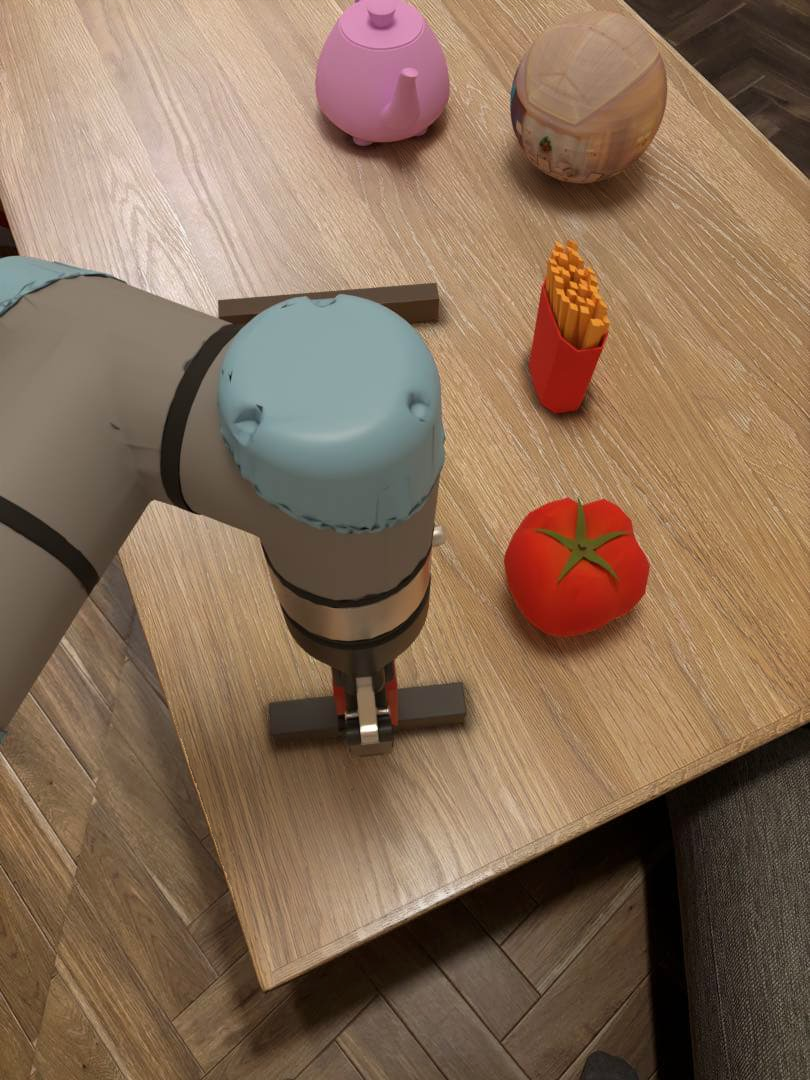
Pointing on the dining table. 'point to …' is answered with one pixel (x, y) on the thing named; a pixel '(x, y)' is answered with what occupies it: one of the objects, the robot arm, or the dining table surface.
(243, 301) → the strip
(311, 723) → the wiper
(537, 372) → the french fries
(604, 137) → the ornament
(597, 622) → the tomato
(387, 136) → the teapot
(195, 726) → the dining table surface
